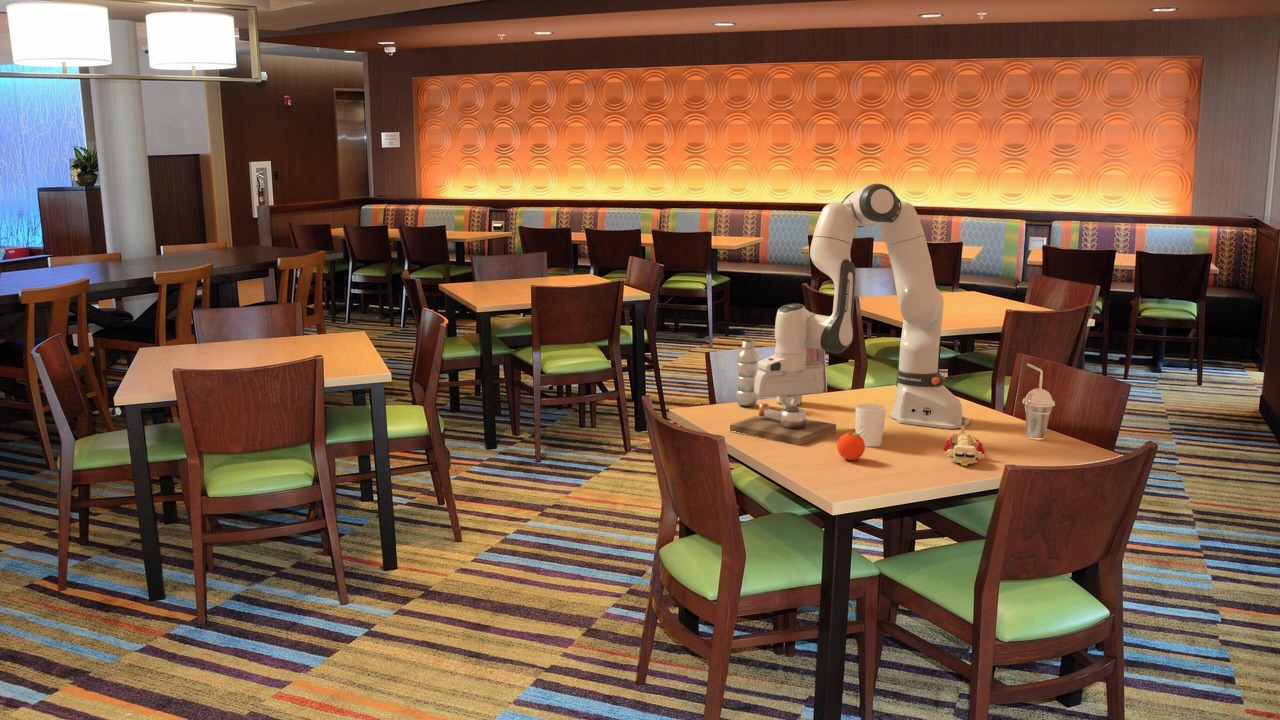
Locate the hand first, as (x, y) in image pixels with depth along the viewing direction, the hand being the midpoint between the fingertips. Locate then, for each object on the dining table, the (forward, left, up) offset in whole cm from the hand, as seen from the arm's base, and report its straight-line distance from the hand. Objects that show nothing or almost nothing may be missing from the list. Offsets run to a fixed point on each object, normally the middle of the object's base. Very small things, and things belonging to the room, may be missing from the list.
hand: (788, 410), depth 296 cm
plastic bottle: (+23, -14, -5) cm, 28 cm away
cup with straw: (-58, -34, -5) cm, 67 cm away
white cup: (-26, +2, -5) cm, 26 cm away
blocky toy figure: (-49, -4, -5) cm, 50 cm away
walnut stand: (-2, +6, -5) cm, 8 cm away
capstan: (0, +5, -2) cm, 5 cm away
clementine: (-30, +19, -5) cm, 36 cm away
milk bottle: (+15, -26, -5) cm, 31 cm away
